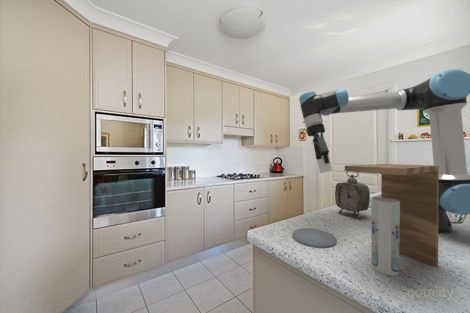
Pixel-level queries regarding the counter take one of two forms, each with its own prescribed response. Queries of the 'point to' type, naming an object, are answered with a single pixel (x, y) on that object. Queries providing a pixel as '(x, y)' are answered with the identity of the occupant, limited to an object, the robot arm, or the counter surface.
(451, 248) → the counter surface
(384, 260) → the spray can
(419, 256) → the walnut shelf
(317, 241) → the rubber mat
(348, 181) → the tabletop clock
